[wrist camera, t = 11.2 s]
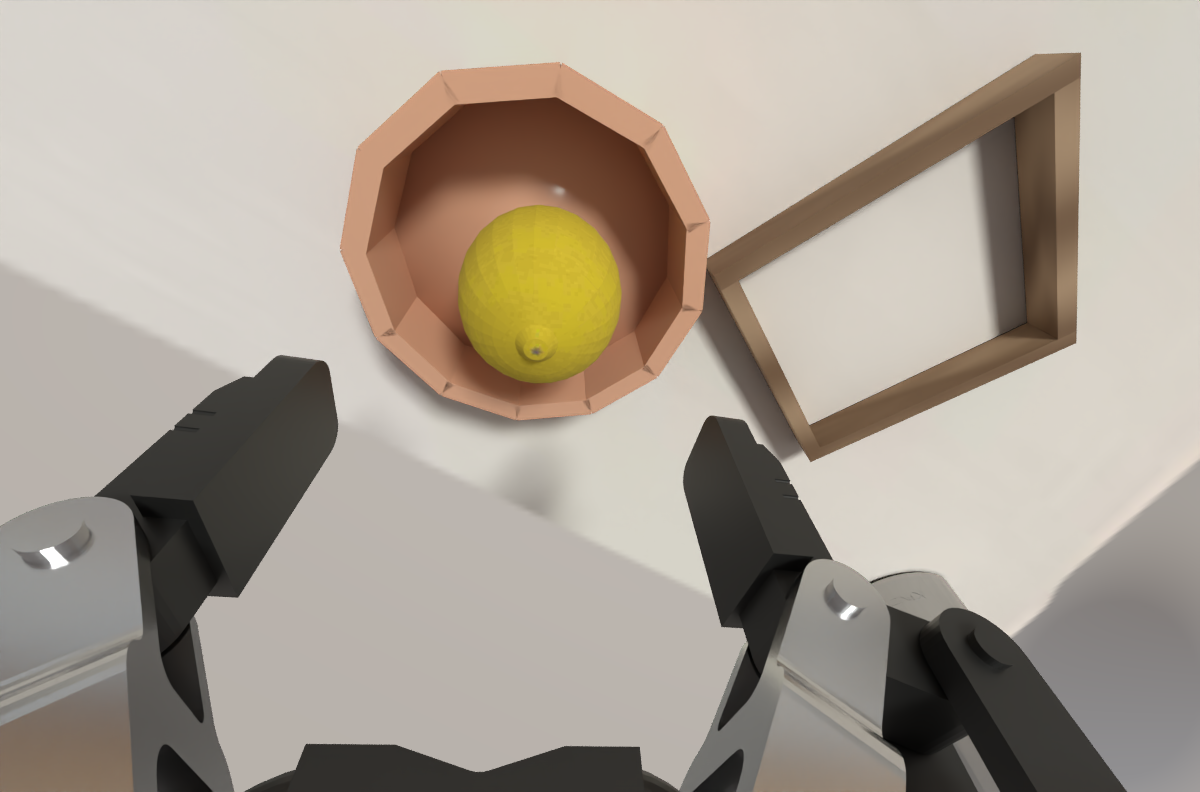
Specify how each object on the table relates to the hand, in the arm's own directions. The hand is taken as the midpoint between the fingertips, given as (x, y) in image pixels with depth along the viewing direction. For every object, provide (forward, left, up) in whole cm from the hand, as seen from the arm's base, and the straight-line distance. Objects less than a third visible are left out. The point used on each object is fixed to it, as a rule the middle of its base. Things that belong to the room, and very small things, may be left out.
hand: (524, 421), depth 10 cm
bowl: (0, 0, -12) cm, 12 cm away
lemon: (0, 0, -11) cm, 11 cm away
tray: (-11, -12, -12) cm, 21 cm away
